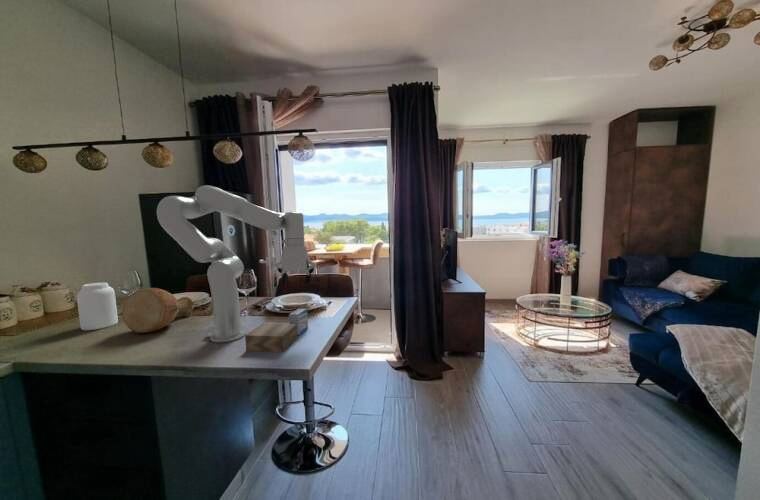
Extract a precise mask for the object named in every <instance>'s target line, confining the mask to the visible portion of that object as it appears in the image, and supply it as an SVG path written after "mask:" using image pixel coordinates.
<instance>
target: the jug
mask: <svg viewBox="0 0 760 500" xmlns="http://www.w3.org/2000/svg"><path fill="white" fill-rule="evenodd" d="M194 309H195V304H194V301H193V299H191V298H189V297H188V296H182V297H180V298H178V299H177V298H176V297H175V295H173V294H172V293H171V292H169V291H167V290H164V289H163V288H162V289H161V288H158V287H145V288H142V289H137V290H136V291H134V292H132V293H131V294H130V295H129V296H128V297H127V299H126V300H125V302H124V304H123V308H122V318H123V322H124V324H125V325H126V326H127V327H128V328H129V330H131V331H132V332H135V333H139V334H140V333H141V334H142V333H143V334H144V333H152V332H156V331H159V330H161V329H163V328H164V327H166V326H168V325H169V324H171V323H172V322H173V321H174V320H175V318H176V317H177V315H178V316H179V317H187V316H189V315H190V314H192V313H193V311H194Z"/></svg>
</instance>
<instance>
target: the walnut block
mask: <svg viewBox="0 0 760 500" xmlns="http://www.w3.org/2000/svg"><path fill="white" fill-rule="evenodd" d="M244 336H245V351H246V352H270V353H271V352H273V353H275V352H277V353H284V352H285V351H286V350H288V348H289V347H290V346H292V344H294V342H295V341H296V340H297V339H298V335H297V325H296V324H289V323H261V324H259V325H258V326H257V327H256V328H254V329H253V330H251V331H249V332H248V333H246V334H245V335H244Z"/></svg>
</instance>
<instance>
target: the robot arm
mask: <svg viewBox="0 0 760 500" xmlns="http://www.w3.org/2000/svg"><path fill="white" fill-rule="evenodd" d="M213 212H218V213H220V214H223V215H226V216H228V217H231V218H234V219H236V220H238V221H242V222H244V223H246V224H249V225H250V226H253V227H257V228H259V229H262V230H265V231H269V232H273V231H275V232H276V231H283V230H284V239H282V240H281V243H282V244H284V246H282V253H281V261H278V262H276V263H275V268H276V269H277V271H278V272H279V273H280V275H281V279H282V281H281V282H282V285H284V286H285V285H288V284H289V277H288V276H289V274H288V272H304V273H305V274H306V275H305V285H306V286H309V285H310V284H311V282H312V274H313V273H314V271H315V270H316V268H317V265H318V264H317V263H316V262H314V261H312V260H311V259H309V253H308V248H307V245H305V224H304V223H305V222H304V214H303V212H301V211H300V212H299V211H287V212H278V211H272V210H270V209H267V208H264V207H262V206H258V205H256V204H254V203H252V202H250V201H248V200H247V199H246V198H244V197H242V196H239V195H236V194H233V193H231V192H228V191H226V190H223V189H221V188H220V187H217V186H213V185H210V184H209V185H208V184H207V185H206V184H205V185H201V186H199V187H198V188H197V190H196V191H195V193H194V196H191V197H186V196H180V195H169V196H165V197H164V198H162V199H161V200H160V201H159V202H158V204H157V208H156V216H157V217H156V218H157V220H158V223H159V225H160V226H161V227H162V229H163V230H164V231H165V232H166V233H167V234H168V235H169V236H170V237H171V238H172V239H173V240H174V241H176V242H177V244H178V245H179V246H180V247H181V248H182V249H183V250H184V251H185V252H186V253H187V254H188V255H189V256H190V257H191V258H192V259H193V260H194V261H196V262H198V263H201V264H202V263H211V264H210V265H209V266H208V269H207V273H206V275H207V280H208V283H209V289H210V295H211V296H210V298H211V305H212V306H211V307H212V317H213V325H208V326H207V329H206V333H211V335H210V342H213V343H228V342H232V341H235V340H238V339H241V338H243V337H244V336H245V335H246V334H247V333H246V330H245V329H244V328H242V323H241V309H240V297H239V288H238V283H237V280H236V279H237V278H239V277H240V276H241V275H242V274H243V272H244V270H245V266H244V263H243V262H242V260H241V259H240V258H239V256H238V255H237V254H236V253H235V252H233V250H232V249H230V247H229V246H228V245H227V244H226V243H225V242H224V241H222V240H221V239H219V238H215V237H207V236H206V235H205V234H203V232H201V231H200V229H198V228H197V227H196V225H194V224H193V223H191V222H190V221H189V220H193V219H196V218H200V217H203V216H206V215H207V214H211V213H213ZM310 266H311V268H310Z"/></svg>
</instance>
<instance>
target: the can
mask: <svg viewBox="0 0 760 500" xmlns="http://www.w3.org/2000/svg"><path fill="white" fill-rule="evenodd" d="M116 300H117V298H116V291H115V289H114V288H113V287H112V286H110V285H109V283H108V282H105V281H103V282H92V283H87V284H83V285H81V290H79V291H78V292H77V294H76V302H77V309H78V311H77V312H78V317H79V318H78V319H79V326H80V329H81V330H82V331H93V330H100V329H101V330H102V329H105V328H110V327H112V326H114V325H116V324H118V322H119V317H118V310H117V309H118V308H117V302H116Z"/></svg>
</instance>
